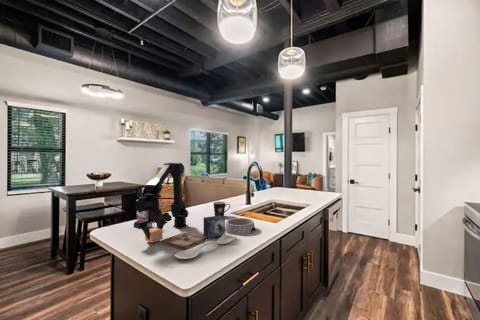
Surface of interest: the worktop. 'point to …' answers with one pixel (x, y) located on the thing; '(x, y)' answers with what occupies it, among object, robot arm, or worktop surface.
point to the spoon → (195, 251)
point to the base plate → (184, 240)
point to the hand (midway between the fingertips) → (153, 237)
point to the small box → (214, 227)
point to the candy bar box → (142, 216)
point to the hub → (154, 235)
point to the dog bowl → (239, 226)
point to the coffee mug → (220, 208)
